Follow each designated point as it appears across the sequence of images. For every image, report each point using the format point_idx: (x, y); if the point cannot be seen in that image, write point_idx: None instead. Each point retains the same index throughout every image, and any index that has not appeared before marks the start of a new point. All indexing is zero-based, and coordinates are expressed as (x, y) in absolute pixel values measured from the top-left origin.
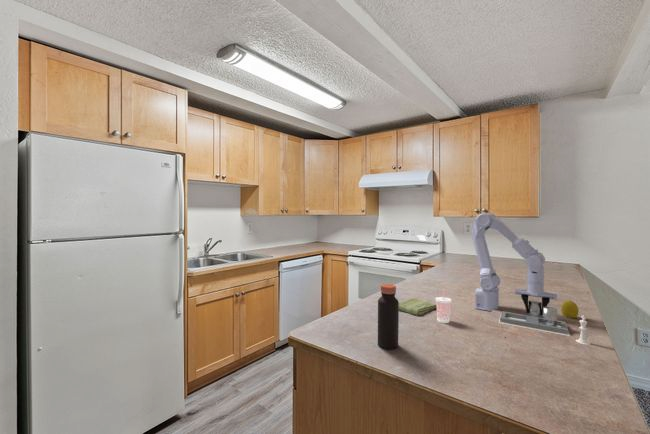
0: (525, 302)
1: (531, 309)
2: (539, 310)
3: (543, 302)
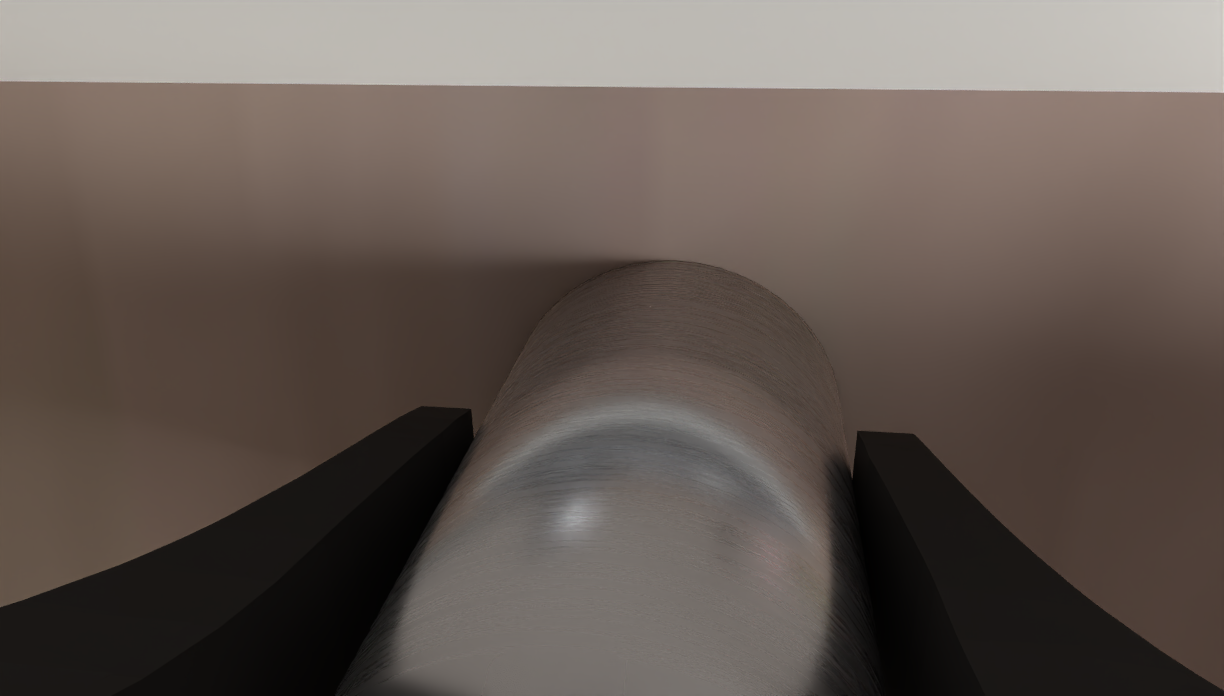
0: (1143, 694)
1: (772, 464)
2: (469, 463)
3: (46, 690)
